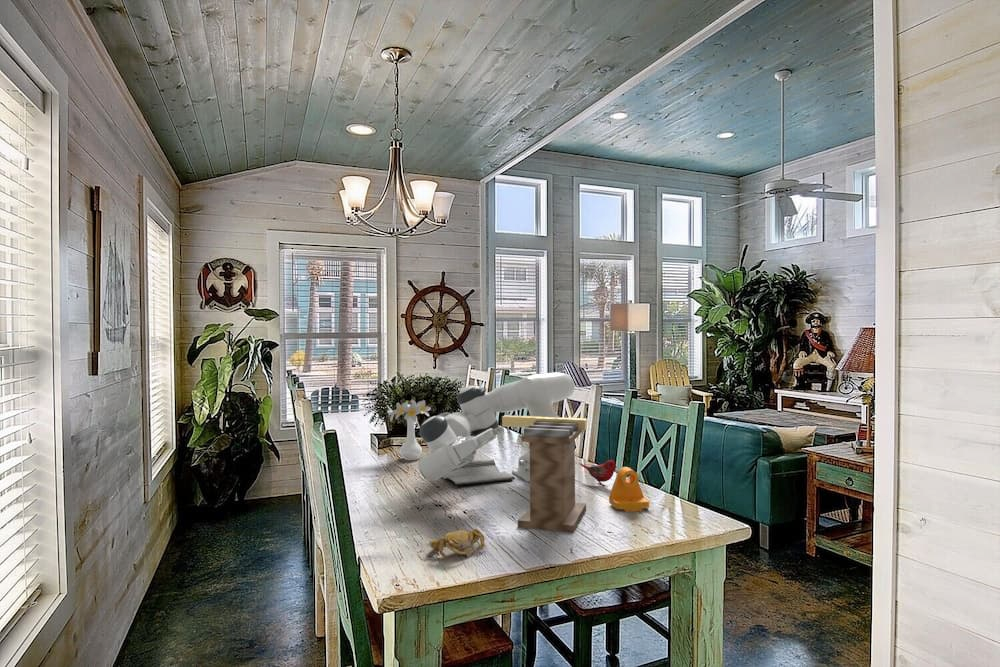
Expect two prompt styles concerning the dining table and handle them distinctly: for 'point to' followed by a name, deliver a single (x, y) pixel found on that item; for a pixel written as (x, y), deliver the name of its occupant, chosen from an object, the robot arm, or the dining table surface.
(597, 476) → the decorative bird figurine
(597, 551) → the dining table surface
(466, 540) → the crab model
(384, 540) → the dining table surface
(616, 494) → the bracket
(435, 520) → the dining table surface
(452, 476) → the mat
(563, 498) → the stand
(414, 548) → the dining table surface
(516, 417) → the yellow bar
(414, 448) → the flower vase
